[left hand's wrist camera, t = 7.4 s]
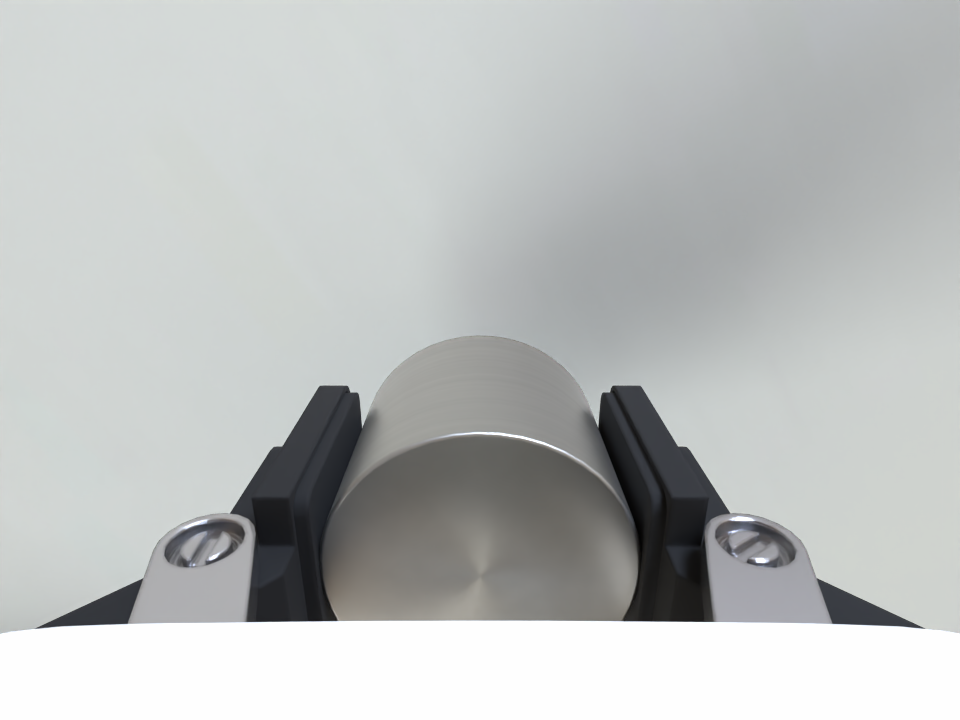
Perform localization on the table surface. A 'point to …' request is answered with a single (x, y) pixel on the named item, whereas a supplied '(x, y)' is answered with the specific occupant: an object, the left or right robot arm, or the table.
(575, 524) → the canister
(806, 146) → the table surface
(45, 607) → the table surface
